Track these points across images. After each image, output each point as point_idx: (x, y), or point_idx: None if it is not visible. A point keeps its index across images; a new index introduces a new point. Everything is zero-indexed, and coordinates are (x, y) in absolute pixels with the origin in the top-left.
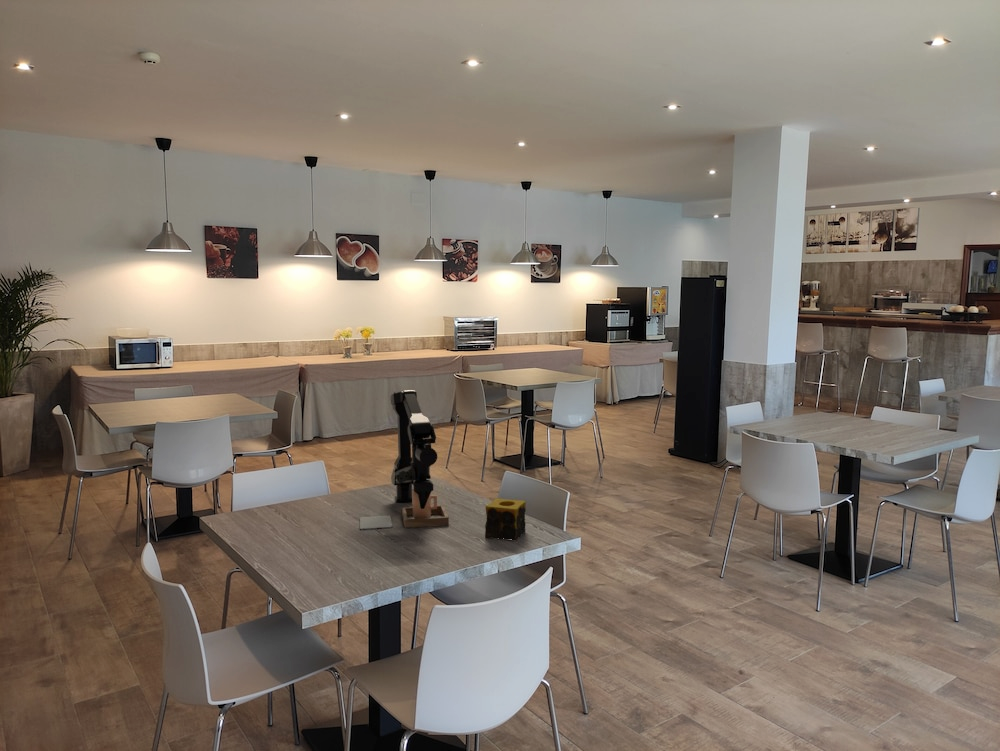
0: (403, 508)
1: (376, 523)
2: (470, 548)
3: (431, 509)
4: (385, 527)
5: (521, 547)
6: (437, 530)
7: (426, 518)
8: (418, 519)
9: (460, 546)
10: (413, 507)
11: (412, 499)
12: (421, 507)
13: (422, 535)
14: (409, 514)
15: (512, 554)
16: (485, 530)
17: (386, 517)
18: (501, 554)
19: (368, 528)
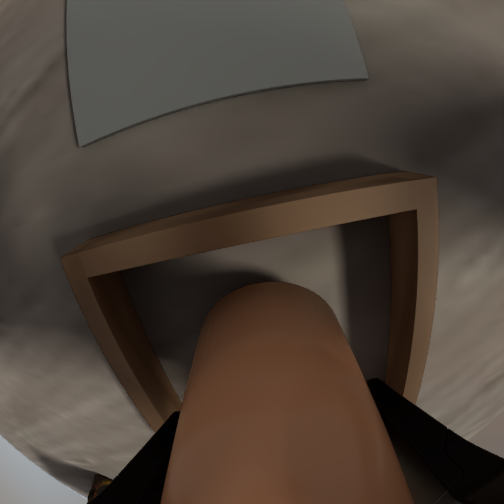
0: (415, 192)
1: (153, 14)
2: (21, 430)
3: (397, 375)
4: (74, 103)
5: (78, 488)
6: (102, 396)
7: (135, 393)
8: (103, 350)
9: (18, 418)
10: (216, 353)
11: (241, 413)
12: (171, 422)
13: (28, 337)
14: (392, 230)
15: (41, 468)
16: (92, 488)
17: (312, 50)
18: (31, 457)
19: (67, 15)
